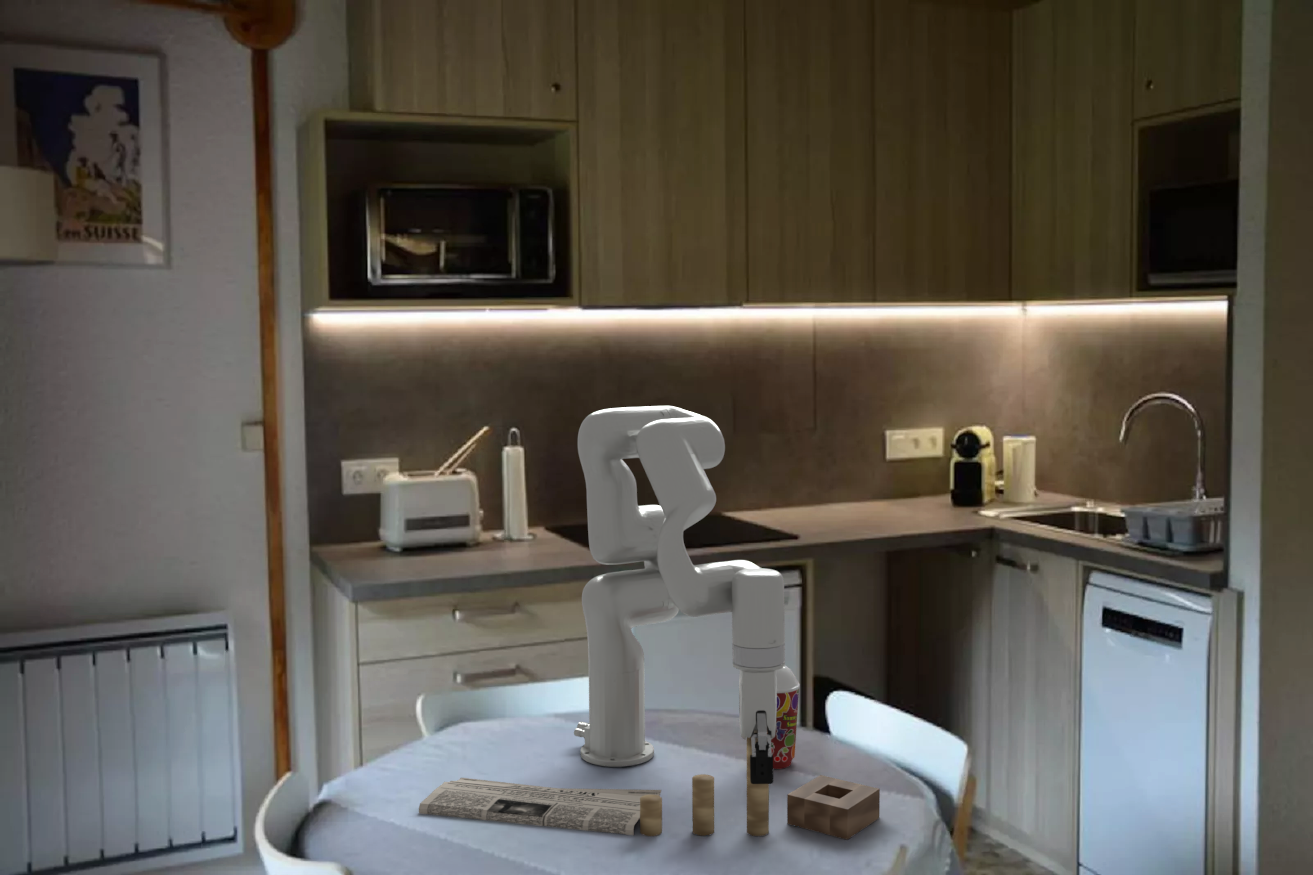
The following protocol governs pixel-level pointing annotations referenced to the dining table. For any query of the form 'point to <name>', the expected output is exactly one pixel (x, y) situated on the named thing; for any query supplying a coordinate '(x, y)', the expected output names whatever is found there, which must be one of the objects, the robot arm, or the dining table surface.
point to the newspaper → (538, 805)
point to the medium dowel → (703, 804)
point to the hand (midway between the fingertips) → (759, 771)
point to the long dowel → (756, 802)
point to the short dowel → (651, 815)
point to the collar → (833, 806)
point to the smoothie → (785, 718)
